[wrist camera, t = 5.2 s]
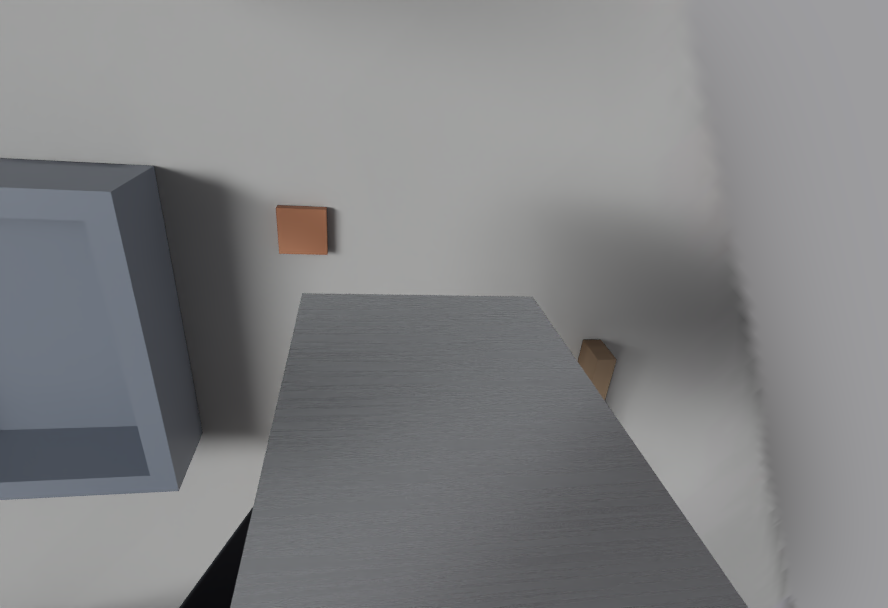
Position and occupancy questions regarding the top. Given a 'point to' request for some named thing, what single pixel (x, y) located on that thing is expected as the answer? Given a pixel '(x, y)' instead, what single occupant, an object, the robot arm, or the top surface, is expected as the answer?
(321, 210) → the bar
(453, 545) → the block
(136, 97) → the top surface
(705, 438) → the top surface
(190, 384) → the tray
